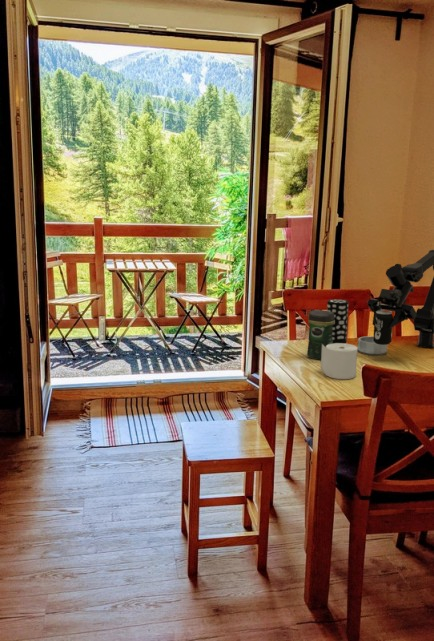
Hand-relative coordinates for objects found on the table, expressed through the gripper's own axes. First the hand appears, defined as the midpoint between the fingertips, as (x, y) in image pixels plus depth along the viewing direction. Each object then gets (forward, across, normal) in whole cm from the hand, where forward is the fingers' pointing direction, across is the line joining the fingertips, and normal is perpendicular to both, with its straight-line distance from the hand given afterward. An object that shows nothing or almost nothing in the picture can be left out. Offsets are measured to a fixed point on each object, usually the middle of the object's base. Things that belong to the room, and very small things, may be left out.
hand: (381, 326), depth 203 cm
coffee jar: (+20, -17, -1) cm, 26 cm away
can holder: (+4, -9, +15) cm, 18 cm away
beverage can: (+4, 0, +6) cm, 7 cm away
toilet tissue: (+28, +1, -9) cm, 29 cm away
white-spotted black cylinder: (+10, -20, +9) cm, 24 cm away
